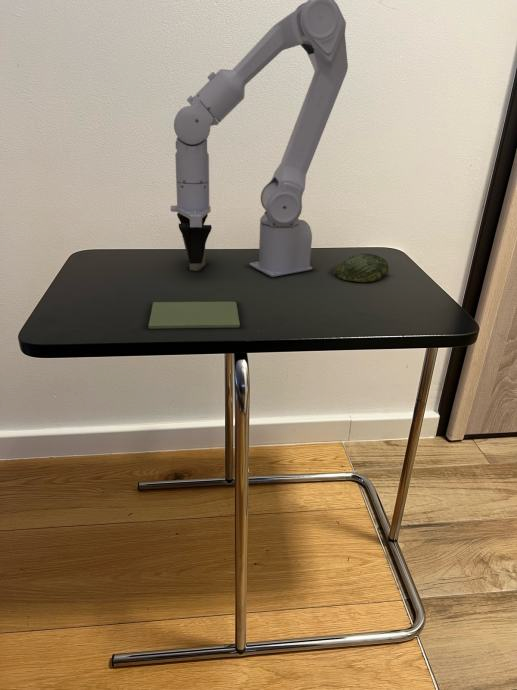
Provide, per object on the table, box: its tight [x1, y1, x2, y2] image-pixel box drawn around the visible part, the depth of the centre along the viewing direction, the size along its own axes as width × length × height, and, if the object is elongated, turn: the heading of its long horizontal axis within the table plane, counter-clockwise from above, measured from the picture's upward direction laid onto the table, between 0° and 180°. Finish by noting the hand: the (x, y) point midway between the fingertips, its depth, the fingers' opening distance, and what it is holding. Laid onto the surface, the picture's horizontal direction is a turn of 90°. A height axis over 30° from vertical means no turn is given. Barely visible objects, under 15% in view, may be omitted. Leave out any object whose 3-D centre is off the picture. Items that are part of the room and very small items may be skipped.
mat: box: [148, 301, 241, 330], centre depth 82 cm, size 13×9×1 cm
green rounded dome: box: [332, 253, 389, 283], centre depth 101 cm, size 10×4×10 cm
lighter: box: [181, 234, 206, 272], centre depth 100 cm, size 7×2×8 cm, turn 165°
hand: (194, 256), depth 100 cm, fingers closed on lighter, 7 cm apart
